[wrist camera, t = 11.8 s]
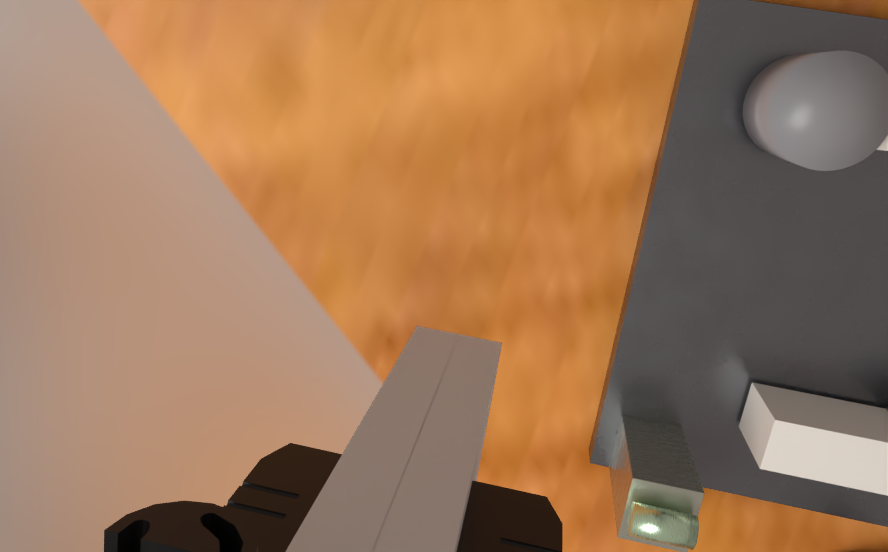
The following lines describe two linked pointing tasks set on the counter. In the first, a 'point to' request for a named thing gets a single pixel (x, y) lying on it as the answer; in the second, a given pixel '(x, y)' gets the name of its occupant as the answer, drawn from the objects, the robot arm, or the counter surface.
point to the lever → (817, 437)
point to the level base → (742, 285)
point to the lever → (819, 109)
